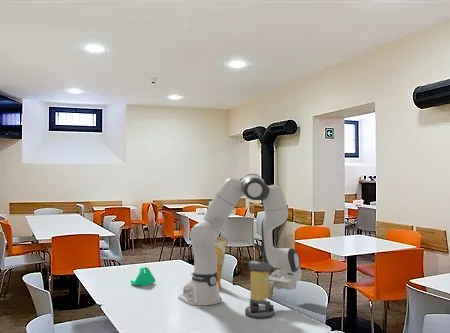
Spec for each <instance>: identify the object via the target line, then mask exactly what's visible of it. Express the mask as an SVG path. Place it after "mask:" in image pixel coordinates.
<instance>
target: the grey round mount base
mask: <svg viewBox="0 0 450 333" xmlns="http://www.w3.org/2000/svg"><path fill="white" fill-rule="evenodd" d="M266 301H267V302H265V305H262V304H258V303H253V299H251V298H249V306H246V308H245V310H244V314H245V316H246V317H248V318H250V319H255V320H267V319H271V318H273V317H275V312H276V310H275V308H274V305H273V304H271V301H268V300H266Z"/></svg>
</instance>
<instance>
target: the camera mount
mask: <svg viewBox="0 0 450 333" xmlns="http://www.w3.org/2000/svg"><path fill="white" fill-rule="evenodd" d="M151 283H152V284H153V283H156V278H155V277H154V275H153V273H152V272H151V270H150V269H149V267H147V266H144V265H143V266H141V267H140V268H139V272H138V274H137V276H136V278H133V279H130V284H132V285H134V286H140V287H146V286H149V285H150V284H151Z"/></svg>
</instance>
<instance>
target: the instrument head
mask: <svg viewBox="0 0 450 333" xmlns="http://www.w3.org/2000/svg"><path fill="white" fill-rule="evenodd" d="M248 268H249V270H250V299H253V303H258V304H259V305H264V306H265V302H267V301H268V300H266V299H269V298H270V287H269V275H270V274H269V273H270V271H271V270H272V268H271V266H270V264H269V263H264V262H263V261H256V260H250V261H249V262H248Z"/></svg>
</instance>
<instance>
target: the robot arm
mask: <svg viewBox="0 0 450 333" xmlns="http://www.w3.org/2000/svg"><path fill="white" fill-rule="evenodd" d="M244 196H245V197H246V198H247V199H249V200H252V201H261V202H262V204H263V208H264V209H263V210H264V218H263V219H262V220H261V241H262V243H261V244H262V255H261V257H262V259H261V260H262V262H264V263H269V264H270V266H271V269H276V270H273V272H271V275H270V274H269V288H270V287H271V288H275V289H277V290H287V291H289V290H290V291H291V290H295V289H297V283H298V282H299V281H300V280H301V278H302V276H303V274H302V273H303V271H302V269H301V265H300V263H301V261H300V260H301V259H300V255H299V254H298V252H297V250H295V248H293V247H284V248H283V247H281V248H280V247H279V248H276V247H274V243H273V242H274V241H273V230H274V229H275V228H277V227H279V226H281V225H283V224H284V223H285V222H286V221H287V219H288V217H289V209H288V205H287V204H288V203H287V200H286V196H285V195H284V192H283V190H282V188H281V187H280V185H278V184H271V185H268V184H266V183H265V180H264V179H263V178H262V177H261V175H259V174H256V173H250V174H247V175H245V176H243V177H242V178H239V179H237V178H234V177H229V178H227V179H226V180H225V181H224V182H223V184H222V185H221V186H220V187H219V188H218V190H217V192H216V193H215V195H214V197H213V198H212V200H211V201H210V203H209V204H208V206H207V210H206V213H205V215H204V217H203V219H202V220H201V222H198V223H196V224H194V225H193V227H192V228H191V229H190V232H189V239H190V240H191V246H192V251H193V258H194V259H193V260H194V262H193V266H194V268H193V272H192V273H190V276H192V277H191V279H190V281H188V282H187V283H185V285H184V286H183V292H182V294H179V295H178V299H179V300H181V302H182V301H183V302H185V304H188V305H189V306H212V305H216V304H219V303H221V298H222V297H221V295H220V289H219V285H218V282H217V280H218V272H217V255H216V252H215V247H214V241H215V240H216V239H217V238H218V236H219V237H220V234H221V233H222V230H223V229H224V226H225V224H226V223H227V221H228V218H229V216H230V215H231V214H232V212H233V210H234V209H235V207H236V205H237V204H238V202H239V200H240V199H241V198H242V197H244Z"/></svg>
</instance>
